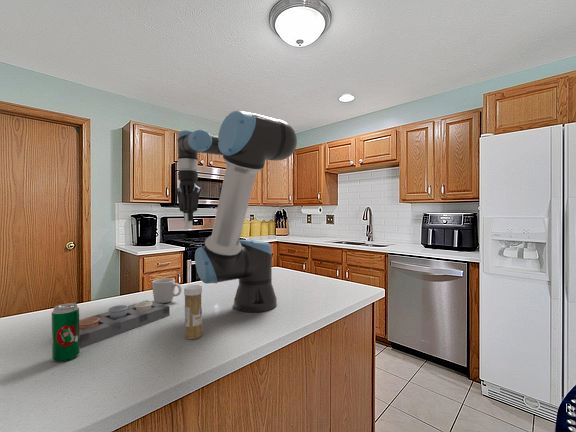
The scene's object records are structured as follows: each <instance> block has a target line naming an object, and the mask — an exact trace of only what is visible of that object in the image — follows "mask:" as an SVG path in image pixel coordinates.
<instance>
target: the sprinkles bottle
mask: <svg viewBox="0 0 576 432" xmlns="http://www.w3.org/2000/svg"><path fill="white" fill-rule="evenodd" d="M202 293H203V287H202V285H200V284H190V285H186V286H185V287H184V288H183V295H184V326H185V327H184V330H185V334H184V337H185V338H186V339H187V340H195V339H198V338H199V339H200V338H201V336H203V329H202V328H203V326H202V324H203V316H202V315H203V314H202V313H203V312H202V311H203V310H202V308H203V307H202Z"/></svg>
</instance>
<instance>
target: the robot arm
mask: <svg viewBox="0 0 576 432" xmlns="http://www.w3.org/2000/svg"><path fill="white" fill-rule="evenodd" d="M176 141H177V170H178V172H177V179H178V181H180V182H179V186H178V188H175V189H174V191H175V193H176V197H177V203H178V207H179V211H180V212H182V213H183V222H184V230H193V221H194V213H195V212H197V211H198V206H199V200H200V195H201V192H202V187H199V186H198V183H197V182H198V180H199V175H198V174H199V172H198V170H199V169H198V164H199V163H198V154H199V153H201V154H209V155H219V156H222V160H223V161H224V162H225V164H226V166H225V172H224V177H223V181H222V186H221V190H220V196H219V199H218V204H217V208H216V214H215V217H214V218H215V219H214V223H213V227H212V232H211V235H209V236H208V237H206V238H205V241H204V245H203V247H202V246H200V247H198V248H197V249H196V250H195V253H194V263H195V269H196V272H197V275H198V277H199V279H200V281H201V282H203V283H204V284H207V285H208V284H218V283H223V282H227V281H234V280H238V286H237V289H236V292H235V297H234V298H233V307H234V309H236V310H238V311H240V312H246V313H258V312H259V313H260V312H266V311H270V310H272V309H275V308H276V307H277V305H278V304H277V303H278V302H277V296H276V293H275V290H274V289H275V288H274V285H273V284H272V278H273V276H272V274H273V273H272V270H273V269H272V268H273V266H272V262H273V261H272V257H273V253H272V245H271V243H269V242H268V241H260V240H251V239H250V240H249V239H240V238H241V234H242V230H243V225H244V223H245V219H246V216H247V212H248V211H247V210H248V208H249V207H248V206H249V203H250V199H251V195H252V192H253V187H254V183H255V180H256V176H257V173H258V172H260V171H262V170H263V169H264V167H265V163H266V161H276V162H277V161H284V160H286V159H288V158H289V157H291V156H292V155H293V153H294V152H295V150H296V148H297V143H298V138H297V133H296V131H295V130H294V128H293V127H292V126H291V125H290V124H289V123H287V122H286V121H284V120H282V119H278V118H273V117H269V116H265V115H261V114H257V113H253V112H250V111H242V110H234V111H233V110H232V111H231V112H230V113H228V115H226V116H225V118H224V119H223V120H222V123H221V124H220V127H219V131H218V134H214V133H213V134H212V133H209V132H208V131H207V130H205V129H196V130H180V131H178V133H177V140H176Z"/></svg>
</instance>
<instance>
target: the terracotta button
mask: <svg viewBox="0 0 576 432" xmlns="http://www.w3.org/2000/svg"><path fill="white" fill-rule="evenodd" d="M89 317H90V318H88V317H85V319H84V318H81V319H82V320H81V319H79V329H81V330H85V329H88V328H91V327H94V326H97V325H98V322H99V321H100V318H98V317H91V316H89Z"/></svg>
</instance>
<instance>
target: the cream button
mask: <svg viewBox="0 0 576 432" xmlns="http://www.w3.org/2000/svg"><path fill="white" fill-rule="evenodd" d="M152 302H153V301H151V302H143V301H140V302H137V304H136V303H134V304H135V308H136V310H137V311H144V310H147V309H150V308H151V306H152Z"/></svg>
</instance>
